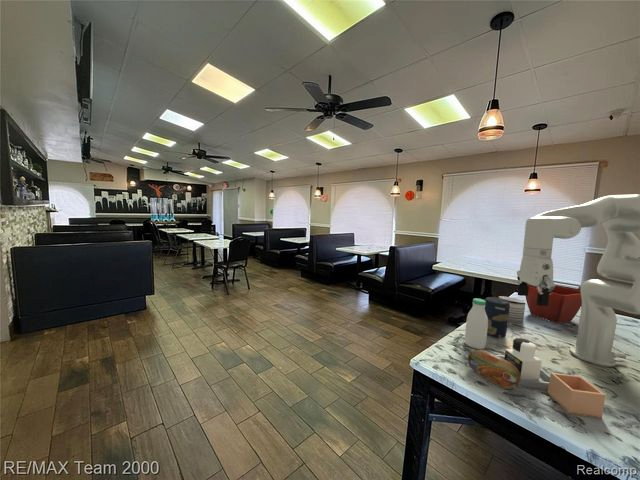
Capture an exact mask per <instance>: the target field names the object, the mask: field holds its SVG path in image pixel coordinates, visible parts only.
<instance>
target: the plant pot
mask: <svg viewBox="0 0 640 480" xmlns="http://www.w3.org/2000/svg"><path fill="white" fill-rule="evenodd" d="M528 285H529V291H528V296H524V298H525V300H526V301H525V302H526V304H527V308H528V311H529V313H530V315H531V314H532V315H531V316H534V315H535V317H537V316H538V318H540V317H541V318H540V319H543V318H544V319H543V320H545V319H547V320H546V321H548V320H549V321H548V322H551V323H554V324H560V323H561V324H562V323H567V322H572V321H573V319H574V318H575V317H576V316H577V314H578V313H579V311H580V310H581V305H582V301H581V291H580V290H578V289H571V288H567V287H564V286H559V285H556V286H555V288H554V289H553V292H551V295H549V301H548V306H540V305H537V304H536V302H537V293H539V291H538V289H537V287H535V286H532V285H530V284H528ZM542 290H544V288H542Z"/></svg>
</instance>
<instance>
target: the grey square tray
mask: <svg viewBox="0 0 640 480" xmlns="http://www.w3.org/2000/svg"><path fill="white" fill-rule="evenodd" d="M494 355H495V356H498V357H500V358H502V359H504V358H505V355H501V354H500V355H499V354H498V355H497V354H494ZM549 381H550V374H548V373H547V372H546V371H544V369H542V368H541V370H540V377H539V380H527V379H520V383H519V384H518V385H517V386H516V388H517V387H519V388H524V389H526V388H527V389H532V390H533V389H534V390H538V391H539V390H540V391H546V392H548V388H549Z"/></svg>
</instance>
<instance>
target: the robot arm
mask: <svg viewBox="0 0 640 480" xmlns="http://www.w3.org/2000/svg"><path fill="white" fill-rule="evenodd" d="M600 224H602V226H603V228H604V230H605V233H606V235H607V245H606V247H605V249H604V252H603V253H602V256H601V258H600V260H599V262H598V264H597V267H596V272H597V274H598V276H601V277H603V278H605V279H610V280H613V281H609V280H604V279H596V278H594V279H592V278H591V279H588V280H585V281H583V283H581V285H580V290H579V291H581V301H582V305H581V307H580V315H579V320H578V321H579V322H578V327H577V334H576V339H575V341H576V342H575V346H570V347H569V353H570V354H571V355H573V356H574V357H576V358H577V359H580V360H582V361H585V362H587V363H590V364H593V365H596V366H601V367H606V368H607V367H608V368H609V367H610V368H611V367H612V368H613V367H616V366H617V361H616V360H615V359H616V358H618V359H626V357H627V356H626V354H625V353H624V352H617V351H615V350H614V349H613V347H614V341H615V335H616V329H617V324H618V319H617V318H618V317H617V315H616V313H615V311H614V310H617V311H622V312H625V313H629V314H634V315H640V239H639V238H638V237H636V235H635V234H634V233H640V193H638V194H637V193H636V194H635V193H633V194H612V195H611V194H609V195H606V196H602V197H599V198H596V199H594V200H591V201H588V202H585V203H583V204H580V205H573V206H569V207H563V208H559V209H555V210H554V209H553V210H548V211H545V212H543V213H540V214H537V215H535V216H533V217H529V218H527V219H526V221H525V227H524V237H523V249H522V258H521V262H520V267H519V270H517V271H516V276H517V284H518V287H517V288H518V289H517V296H522V297H525V296H528V291H529V285H532V286H535V287H537V289H538V291H539V293H537V302H536V304H537V305H540V306H548V301H549V295H551V292H553V289H554V288H555V286H557V285H556V284H555V282H554V264H553V263H554V261H553V259H552V254H553V244H554V243H553V242H554V239H562V240H565V239H566V240H567V239H572V238H575V237H577V235H579V234H580V232H581V230H582V229H583V228H592V227H595V226H598V225H600ZM614 281H617V282H614ZM619 281H620V282H624V283H629V284H632V285H627V284H622V283H619ZM542 288H544V290H542Z"/></svg>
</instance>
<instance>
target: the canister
mask: <svg viewBox="0 0 640 480" xmlns="http://www.w3.org/2000/svg"><path fill="white" fill-rule="evenodd" d="M484 300H485V301H486V305H485V312H486V315H487V318H488V329H487V336H488V337H491V338H495V339H504V338H506V337H507V331H508V326H509V325H508V324H509V323H508V319H509V308H510V303H509V302H508V301H506V300H504V299H500V298H499V297H496V296H494V297H491V296H488V297H486V298H485V299H484Z"/></svg>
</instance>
